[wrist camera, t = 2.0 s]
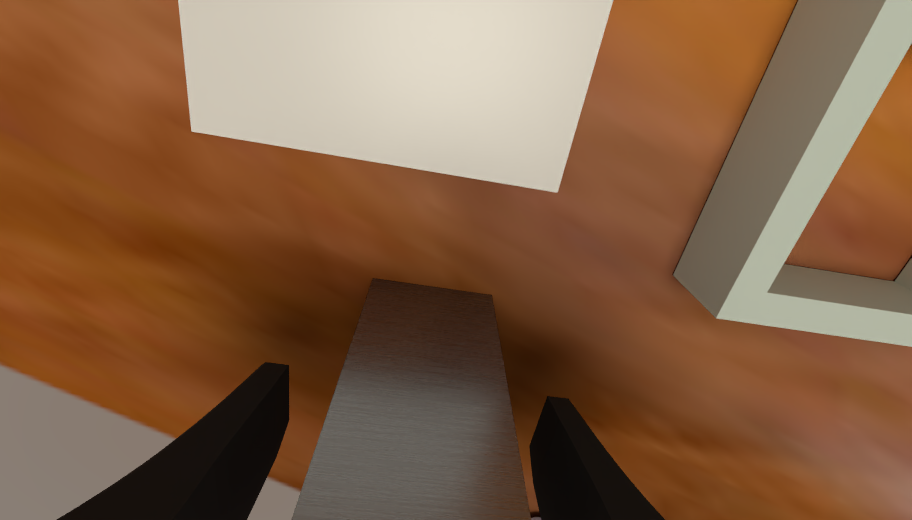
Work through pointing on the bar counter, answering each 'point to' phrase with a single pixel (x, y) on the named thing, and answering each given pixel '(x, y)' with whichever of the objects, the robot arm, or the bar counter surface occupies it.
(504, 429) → the pin block
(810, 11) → the frame
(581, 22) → the pad
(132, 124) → the bar counter surface
